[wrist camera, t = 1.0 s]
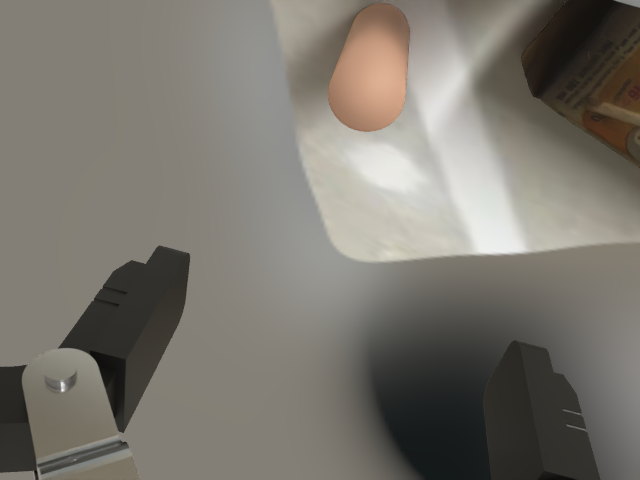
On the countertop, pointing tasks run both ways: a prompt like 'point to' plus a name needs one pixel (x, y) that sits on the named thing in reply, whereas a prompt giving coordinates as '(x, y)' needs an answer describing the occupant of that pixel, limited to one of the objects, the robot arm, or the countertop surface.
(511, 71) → the countertop surface
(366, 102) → the peg
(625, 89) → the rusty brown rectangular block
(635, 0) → the socket station
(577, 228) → the countertop surface
